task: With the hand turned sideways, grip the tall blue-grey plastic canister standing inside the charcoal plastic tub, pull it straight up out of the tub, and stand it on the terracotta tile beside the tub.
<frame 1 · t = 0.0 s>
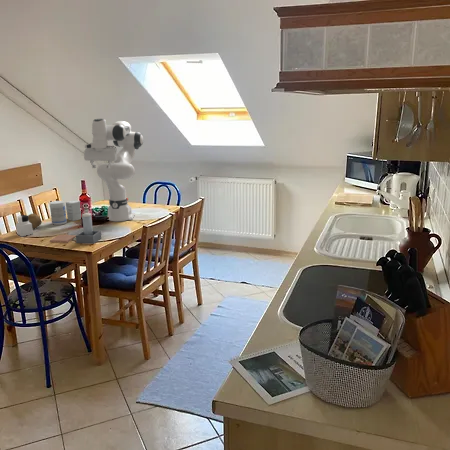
hand: (101, 168, 273), 39 cm above the table, tool pointing down, fingers open, 8 cm apart
medicine bottle: (25, 234, 271), on the table
supplement box: (74, 219, 306), on the table
supplement tub: (59, 223, 295), on the table
parts tub: (89, 240, 258), on the table
terracotta tile: (63, 239, 260), on the table
canister: (87, 227, 255), in the parts tub
natural sponge: (34, 228, 283), on the table
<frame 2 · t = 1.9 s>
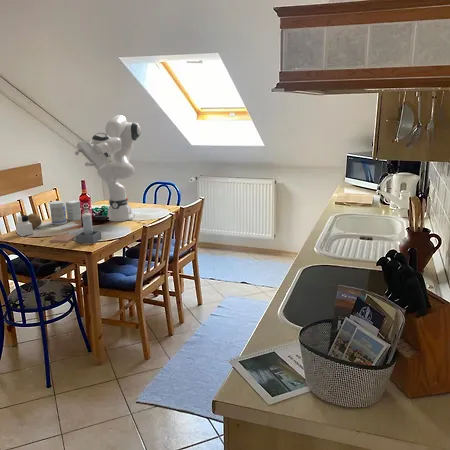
hand: (80, 159, 254), 46 cm above the table, tool horizontal, fingers open, 8 cm apart
nothing on the table moved.
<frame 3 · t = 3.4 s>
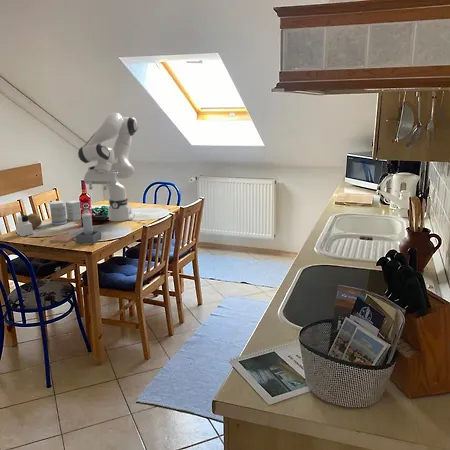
hand: (97, 189, 267), 27 cm above the table, tool tilted 45°, fingers open, 8 cm apart
nothing on the table moved.
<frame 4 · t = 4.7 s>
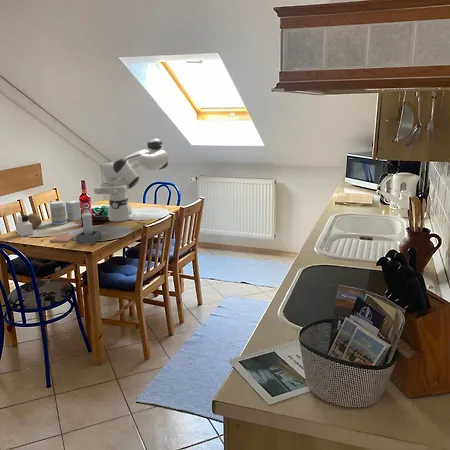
hand: (105, 192, 261), 27 cm above the table, tool horizontal, fingers open, 8 cm apart
nothing on the table moved.
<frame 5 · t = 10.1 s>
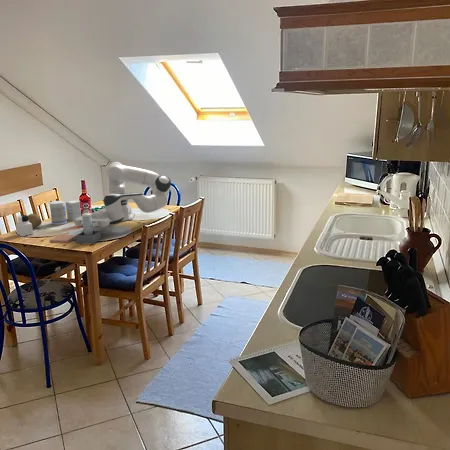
hand: (86, 225, 254), 10 cm above the table, tool horizontal, fingers closed on canister, 5 cm apart
canister: (87, 227, 255), in the parts tub, touching gripper
everything else where it was.
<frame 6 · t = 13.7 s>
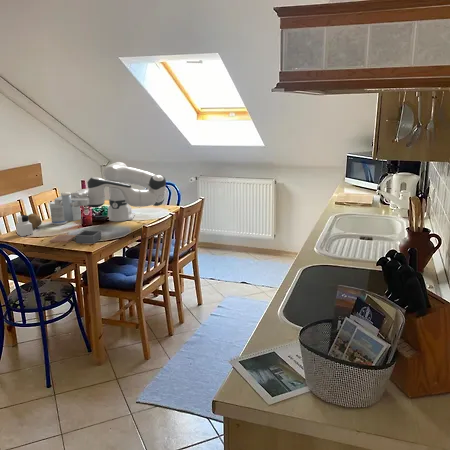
hand: (66, 204, 251), 22 cm above the table, tool horizontal, fingers closed on canister, 5 cm apart
canister: (67, 206, 253), point 20 cm above the table, touching gripper
everything else where it was.
when the fingers open (12 cm above the table, at t = 17.5 s): canister drops 1 cm, resting on terracotta tile.
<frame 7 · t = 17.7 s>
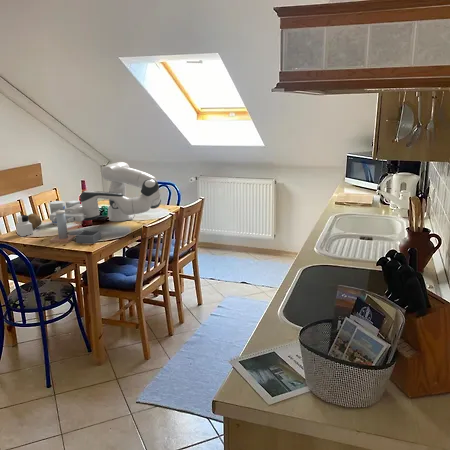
hand: (60, 220, 256), 12 cm above the table, tool horizontal, fingers open, 7 cm apart
canister: (61, 224, 257), on the terracotta tile, point 9 cm above the table
everything else where it was.
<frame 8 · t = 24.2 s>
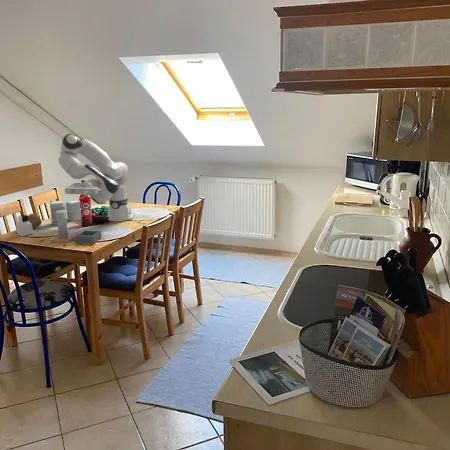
hand: (76, 192, 263), 26 cm above the table, tool horizontal, fingers open, 8 cm apart
nothing on the table moved.
at the end: canister inside the target area on the terracotta tile (0.1 cm from its centre), point 9.3 cm above the terracotta tile's base; canister tilted 1°; the gripper is holding nothing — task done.
